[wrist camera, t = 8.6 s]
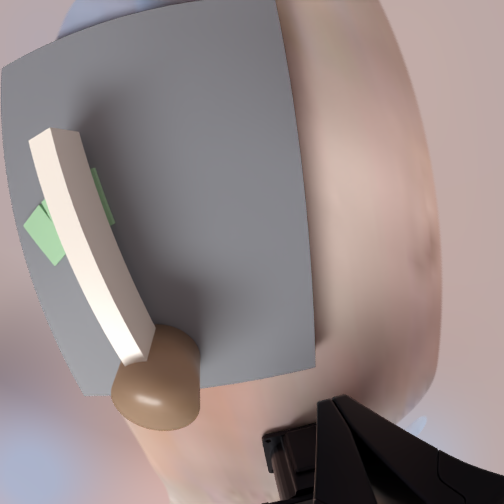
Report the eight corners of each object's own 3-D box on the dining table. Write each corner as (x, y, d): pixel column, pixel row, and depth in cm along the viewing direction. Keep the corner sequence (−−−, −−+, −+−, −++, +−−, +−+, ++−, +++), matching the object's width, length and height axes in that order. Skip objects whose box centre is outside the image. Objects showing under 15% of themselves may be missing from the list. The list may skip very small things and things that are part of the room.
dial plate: (309, 354, 20) (316, 370, 18) (89, 382, 18) (83, 398, 17) (269, 7, 13) (275, -7, 11) (14, 72, 11) (-1, 67, 10)
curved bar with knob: (211, 373, 17) (213, 421, 13) (147, 389, 17) (138, 435, 13) (109, 119, 12) (76, 107, 9) (40, 155, 12) (-5, 158, 8)
